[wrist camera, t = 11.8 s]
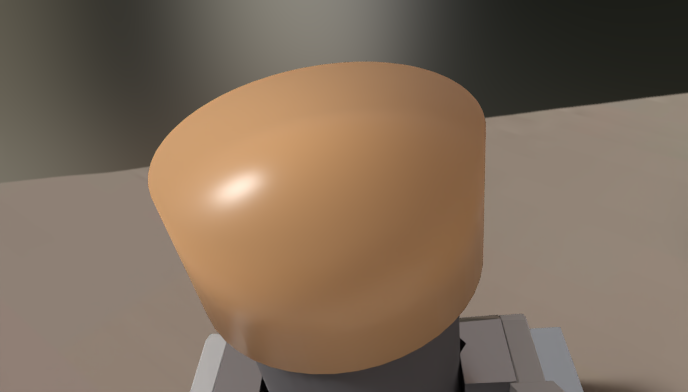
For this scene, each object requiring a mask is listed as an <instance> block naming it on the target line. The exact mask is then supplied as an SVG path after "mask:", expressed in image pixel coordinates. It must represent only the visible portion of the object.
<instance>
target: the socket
mask: <svg viewBox="0 0 688 392" xmlns="http://www.w3.org/2000/svg"><path fill="white" fill-rule="evenodd" d="M530 332H531V335H532V339H533V342H534V345H535V348H536V351H537V355H538V358H539V361H540V364H541V367H542V371H543V374H544V377H545V380H546V381H554V382H555V383H556V384H557V385H558V386H559V387H560V388H561V389H563V390H564V391H565V392H584V391H583V389H582V386H581V383H580V380H579V378H578V375H577V372H576V369H575V367H574V364H573V361H572V358H571V356H570V353H569V350H568V347H567V345H566V342H565V339H564V337H563V334H562V331H561V328H560V327H552V328H535V329H530Z"/></svg>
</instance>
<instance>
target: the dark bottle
mask: <svg viewBox="0 0 688 392" xmlns="http://www.w3.org/2000/svg"><path fill="white" fill-rule="evenodd" d="M485 139H486V122H485V118H484V114H483V111H482V109H481V107H480V105H479V104H478V102H477V100H476V99H475V98H474V97H473V96H472V95H471V94H470V93H469V92H468V91H467V90H466V89H464V88H463V87H462V86H460V85H459V84H458V83H456V82H454V81H452V80H451V79H449V78H447V77H444V76H442V75H440V74H437V73H435V72H432V71H428V70H425V69H422V68H418V67H413V66H408V65H402V64H394V63H384V62H383V63H382V62H344V63H333V64H324V65H317V66H311V67H305V68H300V69H296V70H291V71H287V72H283V73H280V74H276V75H272V76H269V77H266V78H263V79H260V80H257V81H254V82H252V83H249V84H246V85H244V86H241V87H239V88H237V89H234V90H232V91H230V92H228V93H226V94H224V95H222V96H220V97H218V98H216V99H214V100H212V101H211V102H209V103H208V104H206V105H204V106H203V107H201V108H199V109H198V110H196V111H195V112H194V113H192V114H191V115H190V116H188V117H187V118H186V119H184V120H183V121H182V122H181V123H180V124H179V125H178V126H176V127H175V128H174V129H173V130H172V131H171V133H170V134H169V135H168V136H167V137H166V138H165V139H164V140H163V142H162V143H161V145H160V147H159V148H158V149H157V151H156V153H155V155H154V157H153V159H152V161H151V165H150V169H149V173H148V187H149V190H150V194H151V198H152V200H153V202H154V204H155V206H156V208H157V210H158V212H159V214H160V217H161V219H162V221H163V223H164V225H165V227H166V229H167V231H168V233H169V235H170V237H171V240H172V242H173V244H174V246H175V248H176V250H177V252H178V254H179V256H180V258H181V261H182V263H183V265H184V267H185V269H186V271H187V273H188V275H189V277H190V279H191V282H192V284H193V286H194V288H195V290H196V292H197V294H198V296H199V298H200V300H201V303H202V305H203V307H204V309H205V311H206V313H207V315H208V317H209V319H210V321H211V322H212V324H213V326H214V328H215V329H216V331H217V332H218V333H219V334H220V335H221V336H222V338H223V339H224V340H225V341H226V342H227V343H228V344H230V345H231V346H232V347H233V348H235V349H236V350H237V351H238V352H240V353H242V354H244V355H245V356H247V357H249V358H250V359H252V360H254V361H256V363H257V366H258V368H259V370H260V373H261V375H262V377H263V380H264V382H265V384H266V387H267V389H268V391H269V392H461V389H460V385H461V376H460V327H459V315H460V314H461V313H462V312H463V310H464V309H465V308H466V306H467V305H468V303H469V301H470V300H471V298H472V296H473V295H474V293H475V290H476V288H477V285H478V283H479V280H480V277H481V272H482V267H483V237H484V188H485Z"/></svg>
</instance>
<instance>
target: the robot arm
mask: <svg viewBox="0 0 688 392" xmlns="http://www.w3.org/2000/svg"><path fill="white" fill-rule="evenodd" d="M459 327H460V376H461V385H460V389H461V392H565V391H564V390H563V389H561V388H560V387H559V386H558V385H557V384H556V383H555V382H554V381H546V380H545V377H544V374H543V371H542V367H541V364H540V361H539V358H538V355H537V351H536V348H535V345H534V342H533V339H532V335H531V332H530V329H529V326H528V323H527V319H526V317H525V316H524V315H523V314H510V315H499V316H498V315H489V316H476V317H464V318H459ZM190 392H269V391H268V389H267V387H266V384H265V382H264V380H263V377H262V375H261V373H260V370H259V368H258V366H257V363H256V361H254V360H252V359H250V358H249V357H247V356H245V355H244V354H242V353H240V352H238V351H237V350H236V349H235V348H233V347H232V346H231V345H230V344H228V343H227V342H226V341H225V340H224V339H223V338H222V336H221V335H220V334H210V335H209V337H208V338H207V340H206V341H205V345H204V348H203V351H202V355H201V358H200V361H199V364H198V368H197V371H196V374H195V378H194V381H193V384H192V387H191V391H190Z"/></svg>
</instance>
